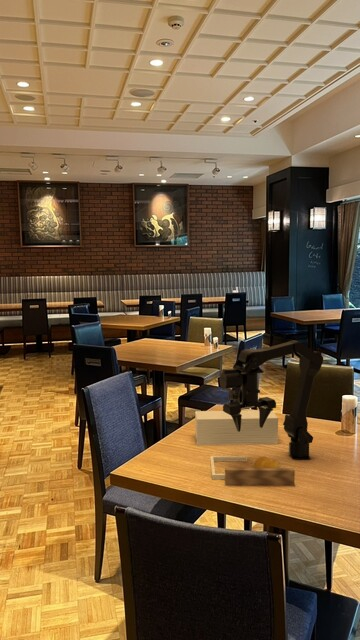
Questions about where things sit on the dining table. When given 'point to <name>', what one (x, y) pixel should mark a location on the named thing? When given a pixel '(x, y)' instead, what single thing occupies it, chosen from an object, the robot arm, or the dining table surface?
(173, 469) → the dining table surface
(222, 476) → the serving bay
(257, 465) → the bread roll
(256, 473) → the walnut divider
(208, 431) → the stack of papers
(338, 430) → the dining table surface
